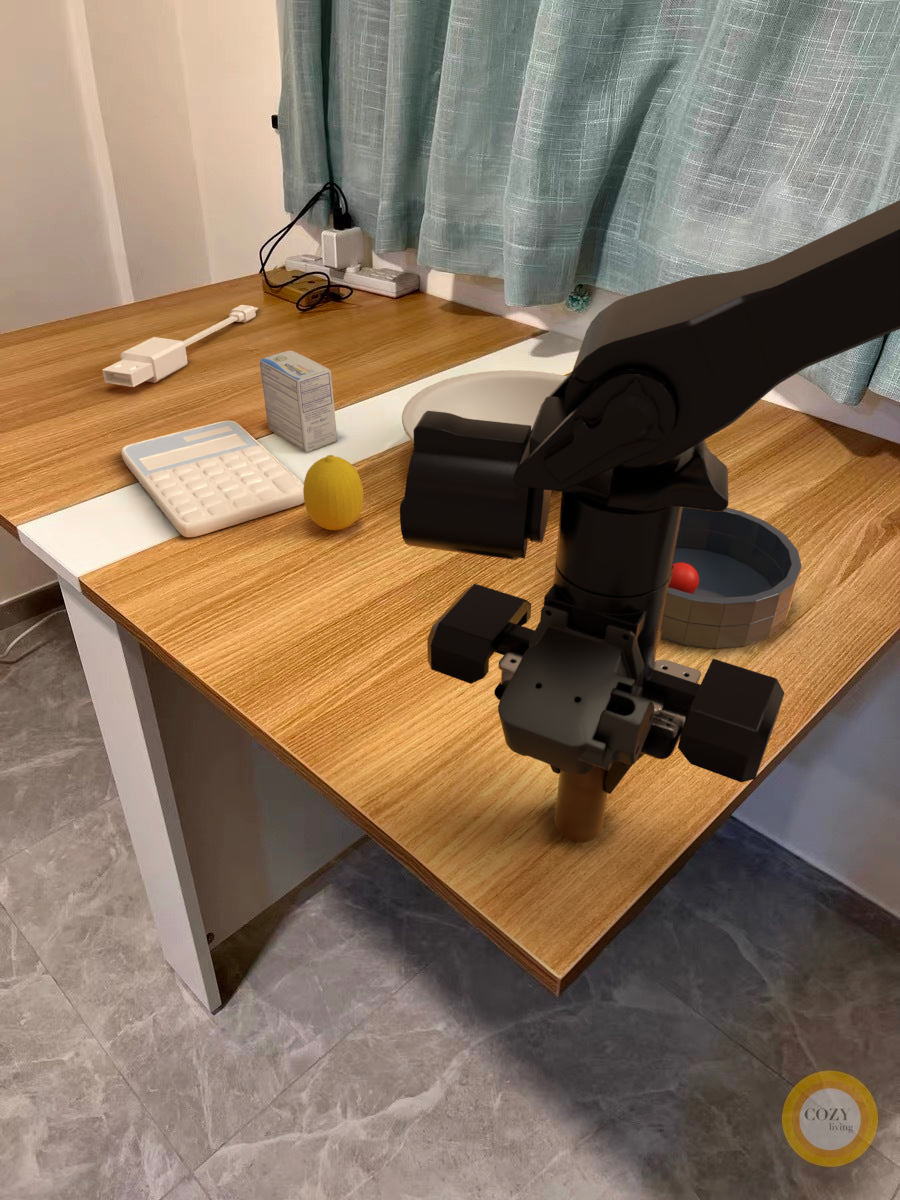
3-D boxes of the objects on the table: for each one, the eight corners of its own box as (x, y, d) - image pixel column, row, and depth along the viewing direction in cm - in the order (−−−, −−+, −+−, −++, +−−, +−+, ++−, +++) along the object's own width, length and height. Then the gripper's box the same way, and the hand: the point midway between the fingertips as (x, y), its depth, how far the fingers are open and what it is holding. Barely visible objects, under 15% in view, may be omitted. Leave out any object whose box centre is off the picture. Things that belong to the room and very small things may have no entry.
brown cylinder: (608, 820, 57) (629, 692, 50) (591, 854, 55) (610, 725, 48) (564, 802, 58) (580, 675, 51) (546, 835, 56) (559, 706, 49)
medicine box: (338, 442, 100) (332, 368, 95) (305, 454, 97) (297, 379, 92) (299, 419, 105) (292, 348, 99) (267, 430, 102) (257, 358, 97)
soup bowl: (573, 412, 106) (578, 359, 102) (672, 509, 88) (683, 449, 84) (379, 439, 100) (376, 383, 96) (442, 549, 82) (442, 487, 78)
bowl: (802, 577, 79) (816, 529, 76) (763, 676, 68) (778, 625, 65) (638, 533, 85) (645, 487, 82) (578, 618, 74) (584, 568, 71)
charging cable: (269, 321, 134) (266, 298, 133) (137, 394, 109) (132, 367, 107) (240, 317, 136) (237, 295, 134) (103, 388, 111) (97, 362, 109)
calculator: (185, 543, 83) (181, 525, 82) (120, 459, 96) (116, 443, 95) (313, 503, 89) (311, 486, 88) (235, 430, 102) (233, 414, 101)
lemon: (338, 553, 82) (331, 476, 77) (295, 534, 84) (286, 458, 79) (377, 528, 85) (373, 453, 80) (335, 510, 88) (329, 436, 83)
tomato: (700, 590, 76) (706, 561, 74) (690, 609, 74) (696, 579, 72) (666, 580, 77) (671, 552, 75) (655, 598, 75) (660, 569, 73)
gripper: (367, 594, 42) (381, 811, 51) (765, 728, 35) (698, 953, 44) (475, 492, 50) (470, 697, 59) (818, 585, 43) (751, 801, 52)
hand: (583, 778), depth 54 cm, fingers closed on brown cylinder, 3 cm apart
